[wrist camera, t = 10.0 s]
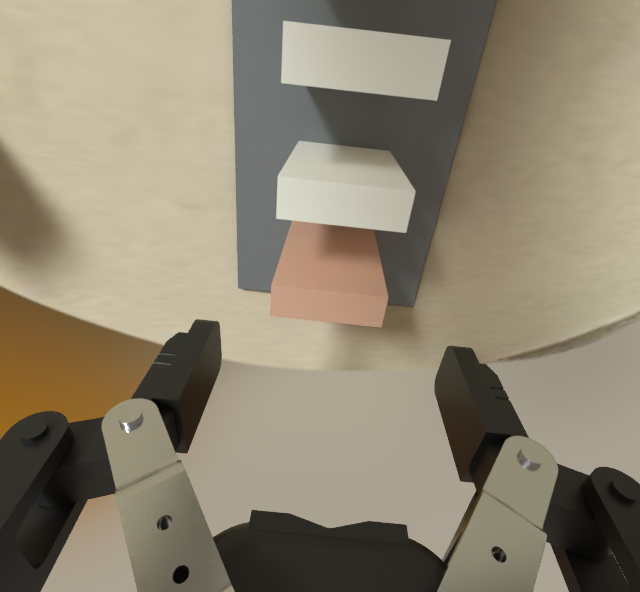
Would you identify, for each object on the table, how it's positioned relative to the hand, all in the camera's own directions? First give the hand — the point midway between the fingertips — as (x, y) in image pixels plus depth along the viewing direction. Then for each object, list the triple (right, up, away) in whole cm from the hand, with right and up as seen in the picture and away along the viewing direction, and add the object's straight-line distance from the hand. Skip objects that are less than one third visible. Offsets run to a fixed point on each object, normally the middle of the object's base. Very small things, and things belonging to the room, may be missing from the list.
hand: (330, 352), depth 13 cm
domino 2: (+1, +9, +7) cm, 12 cm away
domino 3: (0, +6, +10) cm, 11 cm away
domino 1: (+1, +13, +5) cm, 14 cm away
